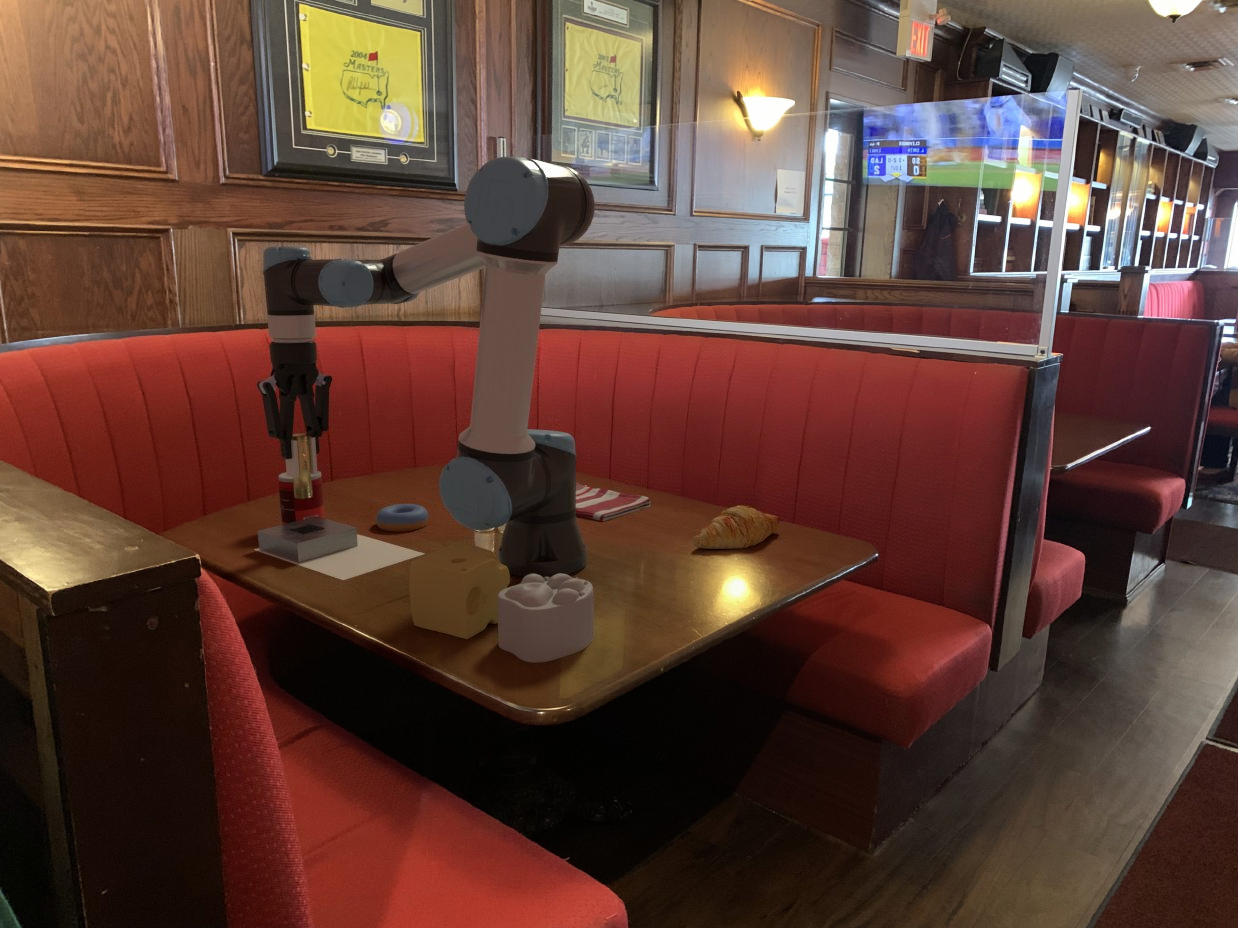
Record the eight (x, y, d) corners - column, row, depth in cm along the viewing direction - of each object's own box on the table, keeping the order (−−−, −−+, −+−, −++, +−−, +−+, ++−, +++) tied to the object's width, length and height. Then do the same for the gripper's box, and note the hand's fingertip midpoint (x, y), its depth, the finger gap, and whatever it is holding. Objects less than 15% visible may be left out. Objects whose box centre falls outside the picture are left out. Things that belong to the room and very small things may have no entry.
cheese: (513, 616, 130) (512, 551, 128) (465, 643, 121) (462, 572, 119) (458, 603, 135) (456, 539, 133) (408, 627, 126) (404, 559, 124)
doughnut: (419, 515, 181) (416, 494, 180) (437, 530, 173) (434, 508, 172) (371, 527, 176) (367, 506, 175) (387, 543, 168) (384, 520, 167)
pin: (315, 496, 158) (312, 435, 156) (300, 499, 156) (296, 437, 153) (306, 493, 160) (302, 432, 157) (291, 496, 157) (286, 435, 155)
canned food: (331, 524, 176) (327, 469, 173) (314, 536, 168) (310, 479, 166) (294, 523, 176) (290, 468, 174) (275, 534, 169) (270, 478, 166)
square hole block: (357, 546, 161) (356, 527, 160) (298, 563, 151) (297, 543, 151) (317, 534, 168) (316, 516, 167) (259, 549, 159) (257, 530, 158)
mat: (425, 555, 157) (425, 553, 157) (343, 582, 143) (343, 580, 143) (335, 529, 172) (335, 527, 172) (253, 551, 159) (253, 549, 159)
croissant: (705, 574, 158) (720, 541, 153) (672, 537, 164) (685, 504, 159) (786, 549, 171) (802, 518, 166) (753, 515, 176) (767, 484, 172)
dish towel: (572, 490, 205) (572, 479, 204) (653, 507, 190) (653, 495, 190) (519, 505, 192) (518, 493, 192) (601, 524, 178) (601, 511, 177)
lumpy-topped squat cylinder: (489, 642, 121) (487, 581, 119) (564, 617, 129) (564, 560, 128) (535, 667, 113) (533, 603, 111) (612, 639, 122) (612, 579, 120)
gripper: (320, 336, 160) (328, 463, 165) (236, 341, 148) (248, 479, 153) (345, 338, 156) (353, 469, 161) (262, 344, 143) (273, 486, 148)
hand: (302, 474), depth 157 cm, fingers closed on pin, 3 cm apart
